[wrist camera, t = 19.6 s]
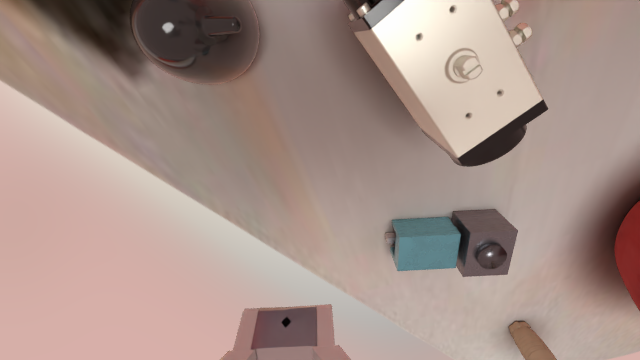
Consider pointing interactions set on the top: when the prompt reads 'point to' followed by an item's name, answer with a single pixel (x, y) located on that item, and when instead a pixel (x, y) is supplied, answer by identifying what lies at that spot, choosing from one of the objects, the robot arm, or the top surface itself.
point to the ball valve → (454, 70)
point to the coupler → (481, 242)
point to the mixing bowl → (630, 252)
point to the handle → (530, 342)
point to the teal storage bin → (425, 244)
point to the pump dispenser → (197, 37)
